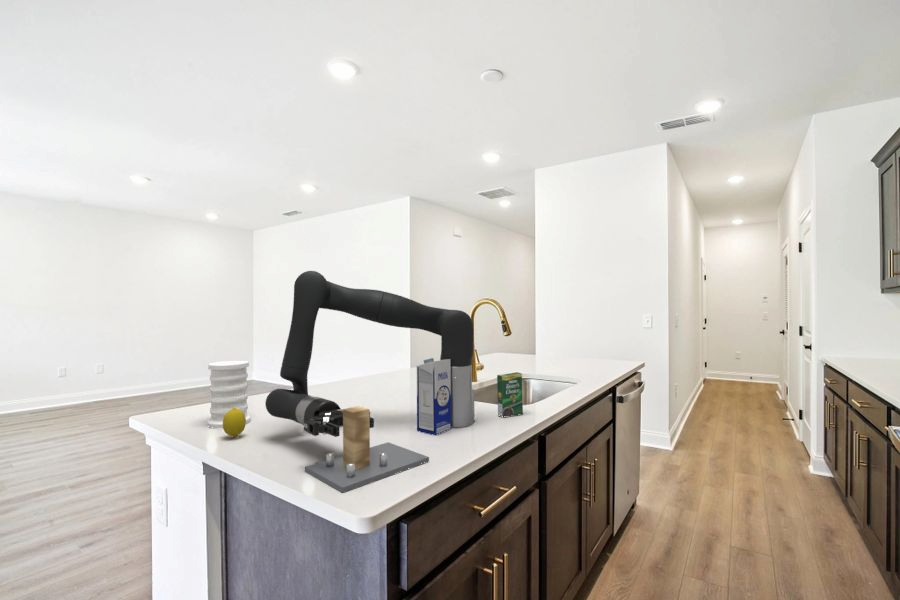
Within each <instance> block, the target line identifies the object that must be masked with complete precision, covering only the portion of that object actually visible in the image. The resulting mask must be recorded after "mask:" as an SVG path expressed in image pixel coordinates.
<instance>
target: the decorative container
mask: <svg viewBox="0 0 900 600" xmlns="http://www.w3.org/2000/svg"><path fill="white" fill-rule="evenodd" d="M207 367H208V370H210V375H209V381H210V387H209V391H210V397H209V402H210V408H209V409H210V410H209V413H210V419H208V420H207V421H206V424H207V427H208V426H209V427H213V428H212V429H214V428H223V419H224V416H225V414H226V413H227V412H228V411H229V410H231V409H232V408H237V409H240V410H241V411H242V412H243V413H244V414H245V418H246V425H247V424H249V423H251V420H252V418H251V415H249V414H248V408H249V406H248V402H247V400H248V398H249V395H248V393H247V391H248V386H249V384H248V383H247V382H248V381H247V380H248V379H247V378H248V376H249V375H248V372H247V368H249V367H250V361H248V360H222V361H214V362H210V363H208V365H207ZM209 427H208V428H209Z"/></svg>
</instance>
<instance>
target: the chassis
mask: <svg viewBox="0 0 900 600" xmlns="http://www.w3.org/2000/svg"><path fill="white" fill-rule="evenodd" d="M325 458H326V459H325V460H323V461H319V462H315V463H312V464H309V465H306V466H304V472H305V473H307V474H308V475H310V476H312V477H314V478H315V479H317V480H319V481H321V482H322V483H324V484H326V485H328V486H329V487H331V488H333V489H335V490H336V491H338V492H340V493H342V494H343V493H347V492H349V491H352V490H354V489H357V488H361V487H363V486H366V485H369V484H371V483H374V482H377V481H379V480H382V479H385V478H387V477H390V475H391V476H393V475H396V474H398V473H397V472H399V473H401V472H400V471H402V472H404V471H403V470H405V471H406V469H407V470H409V469H408V468H410V469H412V468H411V467H413V466H416V465H418V466H420V465H419V464H421V463H424V462H427V461H429V462H430V456H427V455H425V454H422V453H419V452H416V451H414V450H411V449H409V448H405V447H402V446H400V445H398V444H394V443H391V442H384V443H381V444H378V445H374V446H371V447H370V466H367V467H364V468H360V469H357V470H355V463H354V462H349V463H347V467H345V466H343V455H340V456H336V457H335V452H327V453H326V455H325ZM427 463H428V462H427ZM424 464H425V463H424ZM421 465H422V464H421ZM416 467H417V466H416ZM413 468H414V467H413ZM395 473H396V474H395Z"/></svg>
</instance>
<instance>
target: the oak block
mask: <svg viewBox="0 0 900 600" xmlns="http://www.w3.org/2000/svg"><path fill="white" fill-rule="evenodd" d="M369 411H370V408H367V407H364V406H361V405H357V406H353V407H347V408H343V427H342V435H343V436H342V456H343V466H345V467H347V463H349V462H354V463H355V470H357V469H360V468H364V467H367V466H370V446H371V444H370V443H371V442H370V441H371V439H370V437H371V436H370V435H371V434H370V433H371V432H370V431H371V430H370V429H371V428H370V417H371V413H370V414H369Z"/></svg>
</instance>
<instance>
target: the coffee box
mask: <svg viewBox="0 0 900 600" xmlns="http://www.w3.org/2000/svg"><path fill="white" fill-rule="evenodd" d="M496 382H497V384H496V385H497V416H498V415H500V416H503V417H504V416H510V417H512V416H511V415H516V416H519V415H518V414H521V415H523V414H524V408H523V405H524V403H523V400H524V399H523V374H522V373H521V372H517V371H516V372H511V373H510V372H509V373H502V374H497V375H496ZM500 416H499V417H500ZM504 418H505V417H504Z"/></svg>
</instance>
